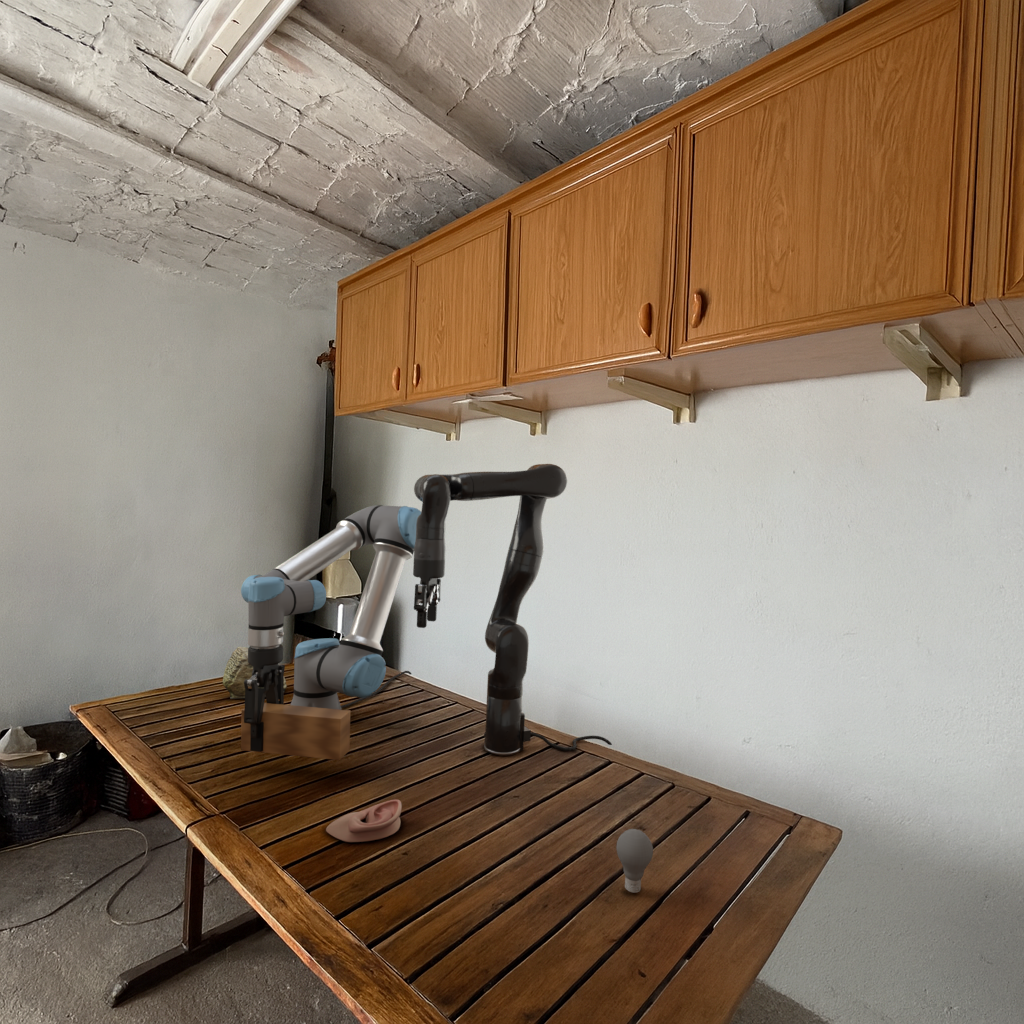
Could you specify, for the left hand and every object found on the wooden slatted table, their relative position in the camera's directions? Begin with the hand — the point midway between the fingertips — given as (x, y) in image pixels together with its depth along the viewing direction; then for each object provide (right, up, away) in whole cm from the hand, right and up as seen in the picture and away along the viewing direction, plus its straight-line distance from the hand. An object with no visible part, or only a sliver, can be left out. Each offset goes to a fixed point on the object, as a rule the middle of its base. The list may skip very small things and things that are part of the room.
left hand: (264, 744), depth 146 cm
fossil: (-24, -4, +52) cm, 57 cm away
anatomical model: (+29, -7, -24) cm, 38 cm away
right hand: (+36, +27, +7) cm, 46 cm away
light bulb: (+77, -10, -40) cm, 88 cm away
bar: (+8, -1, -1) cm, 8 cm away
